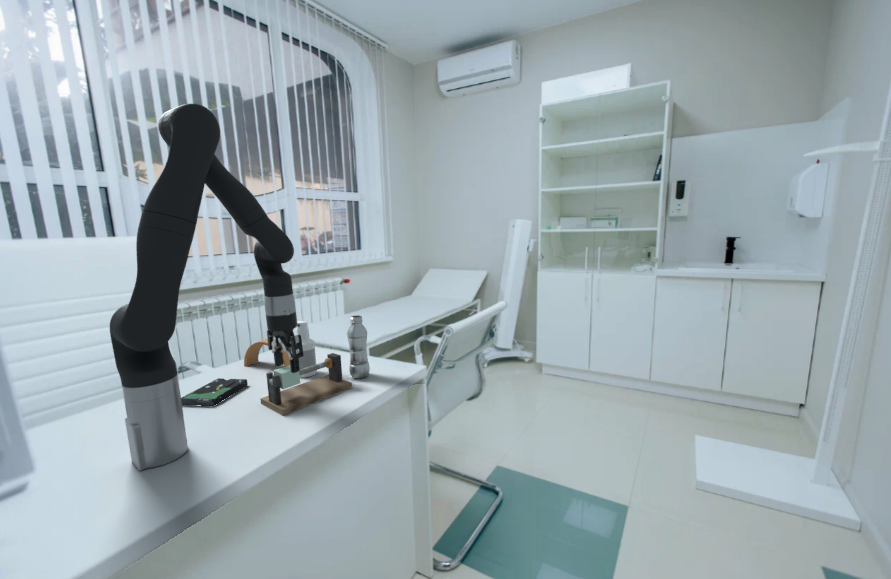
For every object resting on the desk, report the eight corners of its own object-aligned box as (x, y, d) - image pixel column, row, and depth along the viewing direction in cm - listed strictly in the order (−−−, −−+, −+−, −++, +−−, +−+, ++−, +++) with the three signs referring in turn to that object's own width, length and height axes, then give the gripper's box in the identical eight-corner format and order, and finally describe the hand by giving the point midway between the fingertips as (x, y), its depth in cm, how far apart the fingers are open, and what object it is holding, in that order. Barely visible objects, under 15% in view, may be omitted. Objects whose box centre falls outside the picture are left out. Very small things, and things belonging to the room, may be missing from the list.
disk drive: (218, 386, 121) (180, 407, 106) (217, 378, 120) (179, 397, 106) (248, 387, 119) (214, 408, 105) (247, 378, 119) (213, 398, 104)
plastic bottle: (372, 372, 127) (369, 314, 124) (366, 380, 120) (362, 319, 117) (353, 372, 127) (350, 314, 124) (346, 380, 121) (342, 319, 118)
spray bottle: (290, 377, 125) (285, 323, 122) (304, 369, 132) (299, 319, 129) (308, 378, 123) (303, 324, 120) (321, 371, 130) (316, 319, 127)
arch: (287, 372, 130) (284, 344, 128) (244, 366, 137) (241, 339, 135) (299, 367, 135) (296, 339, 133) (257, 361, 142) (254, 335, 141)
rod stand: (283, 415, 98) (279, 380, 97) (260, 403, 106) (257, 370, 104) (352, 387, 115) (350, 357, 114) (328, 378, 123) (326, 350, 121)
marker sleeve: (283, 389, 102) (281, 373, 101) (274, 385, 105) (273, 370, 104) (300, 383, 106) (298, 368, 105) (291, 379, 108) (290, 365, 108)
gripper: (254, 311, 104) (261, 367, 106) (281, 317, 95) (287, 379, 97) (280, 306, 109) (286, 360, 112) (308, 311, 100) (314, 369, 103)
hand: (287, 368), depth 105 cm, fingers open, 8 cm apart
